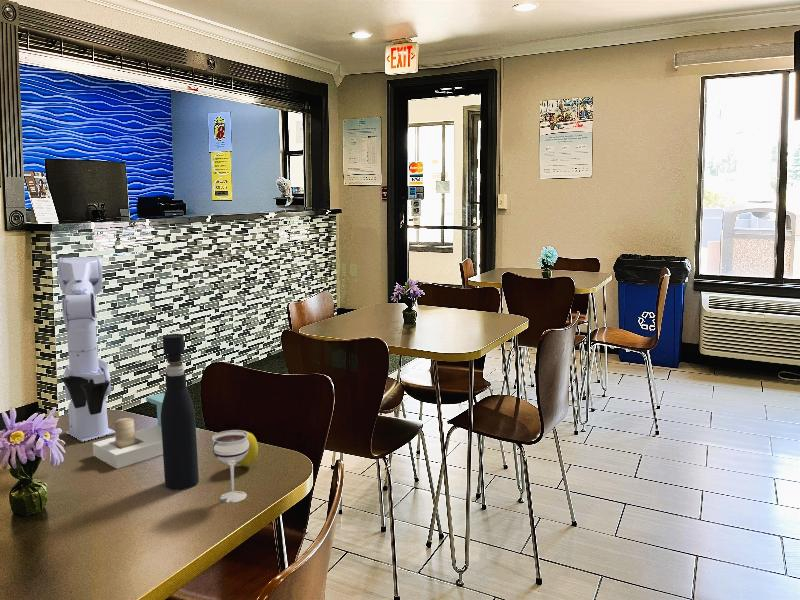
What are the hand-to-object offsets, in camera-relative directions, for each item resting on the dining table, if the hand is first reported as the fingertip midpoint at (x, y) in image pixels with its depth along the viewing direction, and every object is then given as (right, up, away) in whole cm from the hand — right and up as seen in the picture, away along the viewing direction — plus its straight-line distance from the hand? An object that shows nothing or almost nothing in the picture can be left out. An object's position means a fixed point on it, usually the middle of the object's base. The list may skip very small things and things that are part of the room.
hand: (87, 410), depth 145 cm
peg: (+8, -10, +1) cm, 13 cm away
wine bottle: (+25, -13, -13) cm, 31 cm away
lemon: (+36, -11, -5) cm, 38 cm away
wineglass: (+37, -13, -19) cm, 44 cm away
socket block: (+10, -10, +4) cm, 15 cm away
